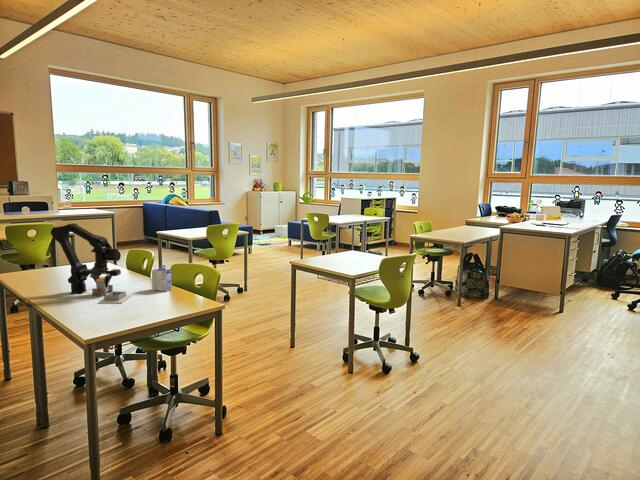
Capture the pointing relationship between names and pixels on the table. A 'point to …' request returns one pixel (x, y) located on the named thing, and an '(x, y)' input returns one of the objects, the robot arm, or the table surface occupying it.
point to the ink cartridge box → (161, 279)
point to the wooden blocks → (101, 291)
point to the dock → (115, 298)
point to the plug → (101, 284)
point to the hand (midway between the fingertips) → (102, 287)
